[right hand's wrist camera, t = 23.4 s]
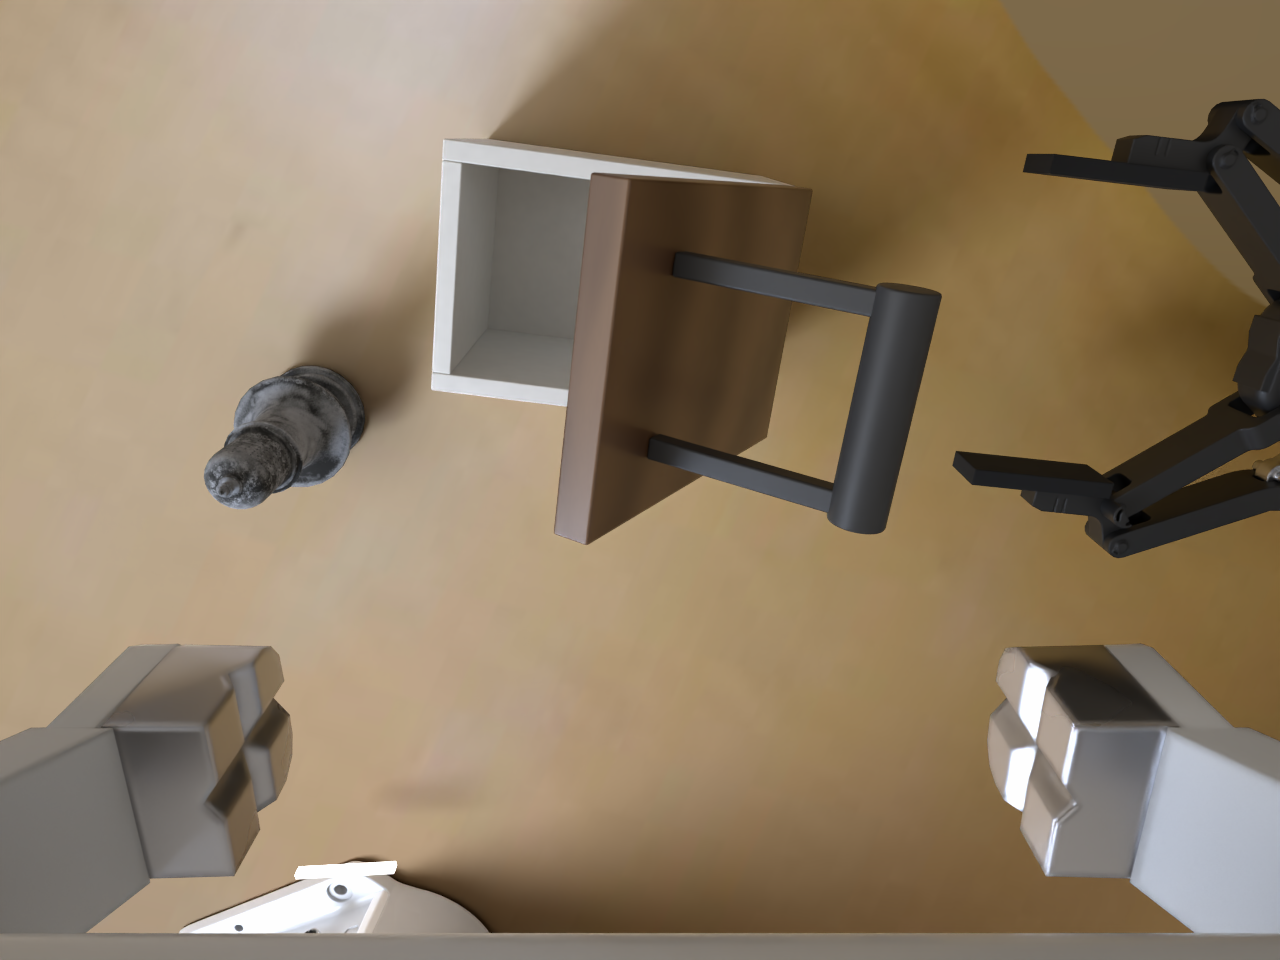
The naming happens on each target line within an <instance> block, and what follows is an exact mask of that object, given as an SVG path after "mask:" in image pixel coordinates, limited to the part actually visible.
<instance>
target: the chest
mask: <svg viewBox="0 0 1280 960" xmlns="http://www.w3.org/2000/svg"><path fill="white" fill-rule="evenodd" d="M442 158H443V161H442V177H441V198H440V218H439V239H438V260H437V280H436V301H435V322H434V342H433V363H432V371H433V372H432V383H431V389H432V390H436V391H444V392H452V393H460V394H468V395H476V396H485V397H493V398H501V399H509V400H517V401H525V402H533V403H541V404H549V405H558V406H566V407H567V401H568V391H569V381H570V372H571V362H572V352H573V343H574V333H575V323H576V313H577V304H578V294H579V284H580V275H581V265H582V255H583V246H584V236H585V226H586V217H587V207H588V197H589V188H590V178H591V174H592V173H594V172H598V173H613V174H628V175H643V176H658V177H673V178H688V179H702V180H717V181H732V182H747V183H762V184H777V185H789V186H793V185H790V184H786V183H783V182H780V181H776V180H773V179H770V178H766V177H763V176H758V175H751V174H744V173H736V172H729V171H721V170H714V169H707V168H699V167H692V166H685V165H677V164H670V163H662V162H655V161H648V160H640V159H633V158H626V157H618V156H611V155H604V154H596V153H589V152H581V151H574V150H567V149H559V148H552V147H545V146H537V145H530V144H522V143H515V142H508V141H500V140H493V139H444V140H443V156H442Z"/></svg>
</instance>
